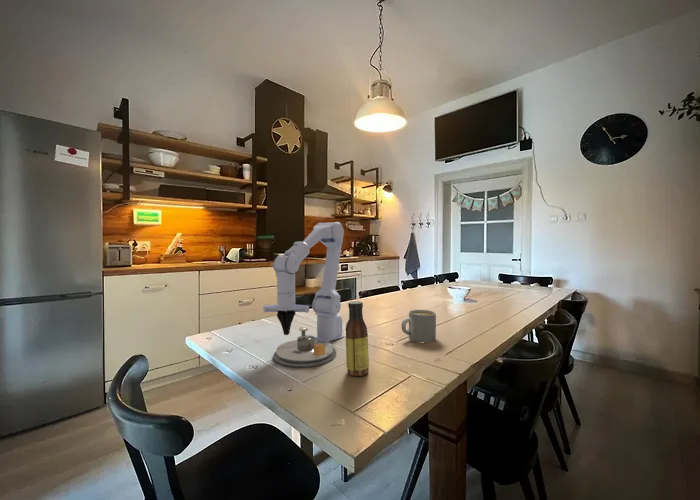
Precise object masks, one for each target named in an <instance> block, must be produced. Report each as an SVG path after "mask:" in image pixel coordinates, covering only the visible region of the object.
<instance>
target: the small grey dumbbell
mask: <svg viewBox="0 0 700 500" xmlns="http://www.w3.org/2000/svg"><path fill="white" fill-rule="evenodd" d="M298 330H299V331H300V332H301V333H300V336H305V335H306V332H307V331H308V327H305V326H302V327H299V329H298Z"/></svg>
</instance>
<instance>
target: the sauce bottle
mask: <svg viewBox="0 0 700 500" xmlns="http://www.w3.org/2000/svg"><path fill="white" fill-rule="evenodd" d="M347 304H348V305H347V307H348V318H349V319H348V321H347V322H346V324H345V355H346V356H345V358H346V359H345V361H346V369H347V374H348V375H351V376H354V377H362V376H366V375H367V374H368V373H369V368H370V367H369V366H370V361H369V360H370V359H369V337H368V334H369V333H368V326H367V325H366V323H365V321H364V315H363V307H364V305H363V302H362V301H360V300H353V301H352V300H351V301H349V302H348V303H347Z"/></svg>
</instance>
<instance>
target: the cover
mask: <svg viewBox="0 0 700 500" xmlns="http://www.w3.org/2000/svg"><path fill="white" fill-rule="evenodd" d="M314 336H315V335H307V334H305V336H301V335H300V336H298V337H297V338H296V340H297V349H298V350H301V351H309V350H313V349H314V344H315V337H314Z"/></svg>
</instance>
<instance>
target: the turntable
mask: <svg viewBox="0 0 700 500" xmlns="http://www.w3.org/2000/svg"><path fill="white" fill-rule="evenodd" d="M333 348H334V346H333V344H332V343H331V342H330V341H328V342H327V341H323V340H318V339H315V344H314V349H313V350H309V351H301V350H298V349H297V339H294V340H290V341H286V342H284V343H281V344H280V345H278V346H277V348H276V351H277V357H278V358H279V359H281V360H283V361H286V362H291V363H312V362H317V361H321V360H324V359H326V358H328V357H330V356H331V355H332V354H333Z"/></svg>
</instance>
